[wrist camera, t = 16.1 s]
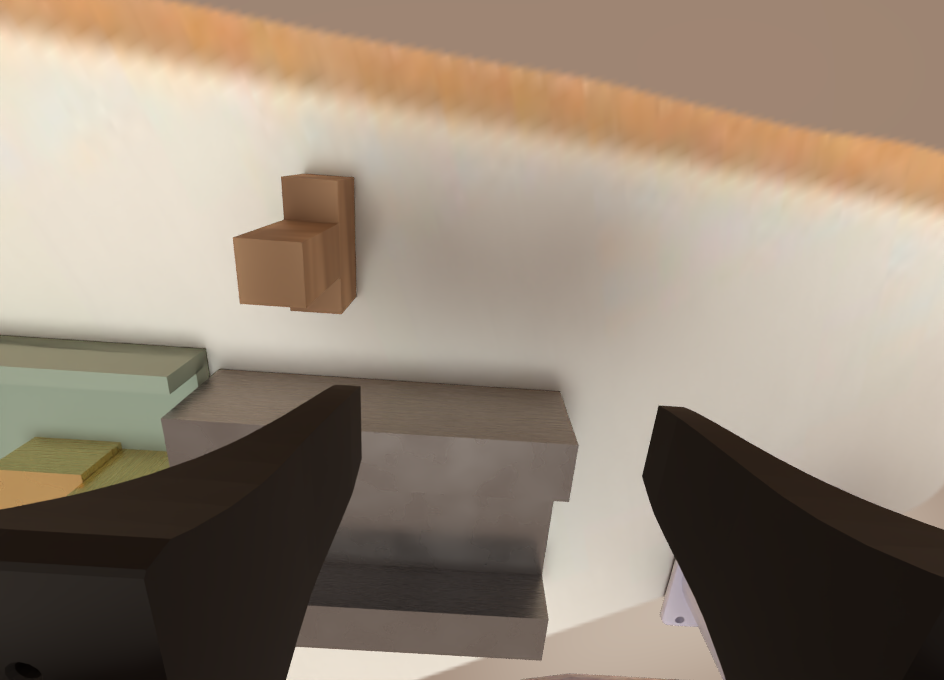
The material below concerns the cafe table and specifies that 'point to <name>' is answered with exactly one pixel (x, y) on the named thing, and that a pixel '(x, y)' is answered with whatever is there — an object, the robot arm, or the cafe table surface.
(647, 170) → the cafe table surface
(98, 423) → the tray
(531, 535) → the grey open tray
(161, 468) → the tan square block
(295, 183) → the stepped wooden block
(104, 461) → the tan wooden square block
